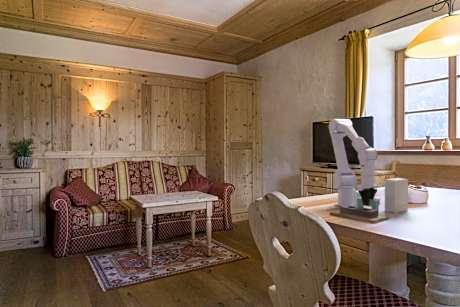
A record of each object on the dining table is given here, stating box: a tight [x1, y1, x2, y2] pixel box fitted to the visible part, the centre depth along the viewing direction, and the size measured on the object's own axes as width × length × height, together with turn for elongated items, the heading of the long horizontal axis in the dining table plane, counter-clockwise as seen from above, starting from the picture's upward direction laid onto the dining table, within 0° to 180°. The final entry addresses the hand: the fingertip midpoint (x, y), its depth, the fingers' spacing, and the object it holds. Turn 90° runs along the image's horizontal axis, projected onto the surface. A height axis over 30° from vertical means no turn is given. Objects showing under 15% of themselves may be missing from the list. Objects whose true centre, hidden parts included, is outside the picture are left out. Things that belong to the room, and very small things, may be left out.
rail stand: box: [329, 205, 390, 224], centre depth 133 cm, size 12×20×4 cm, turn 37°
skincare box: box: [384, 177, 409, 214], centre depth 142 cm, size 8×6×15 cm
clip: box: [356, 197, 380, 215], centre depth 141 cm, size 2×9×6 cm, turn 37°
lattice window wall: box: [357, 191, 381, 205], centre depth 162 cm, size 12×2×6 cm, turn 50°
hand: (367, 205), depth 141 cm, fingers closed on clip, 2 cm apart
